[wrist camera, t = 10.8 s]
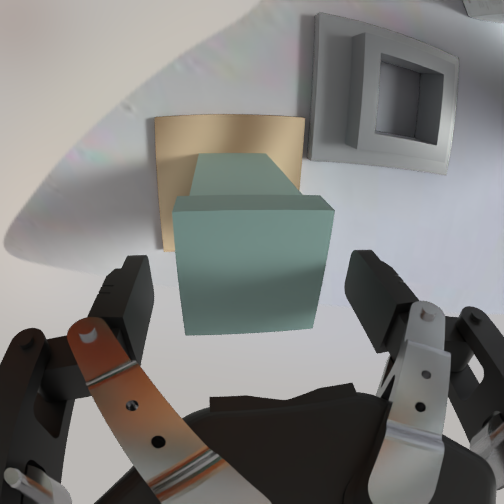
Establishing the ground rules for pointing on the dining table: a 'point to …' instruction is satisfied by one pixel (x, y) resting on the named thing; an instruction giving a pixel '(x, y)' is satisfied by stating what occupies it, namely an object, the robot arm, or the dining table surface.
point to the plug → (248, 247)
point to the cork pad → (219, 151)
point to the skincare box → (485, 10)
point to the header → (366, 97)
